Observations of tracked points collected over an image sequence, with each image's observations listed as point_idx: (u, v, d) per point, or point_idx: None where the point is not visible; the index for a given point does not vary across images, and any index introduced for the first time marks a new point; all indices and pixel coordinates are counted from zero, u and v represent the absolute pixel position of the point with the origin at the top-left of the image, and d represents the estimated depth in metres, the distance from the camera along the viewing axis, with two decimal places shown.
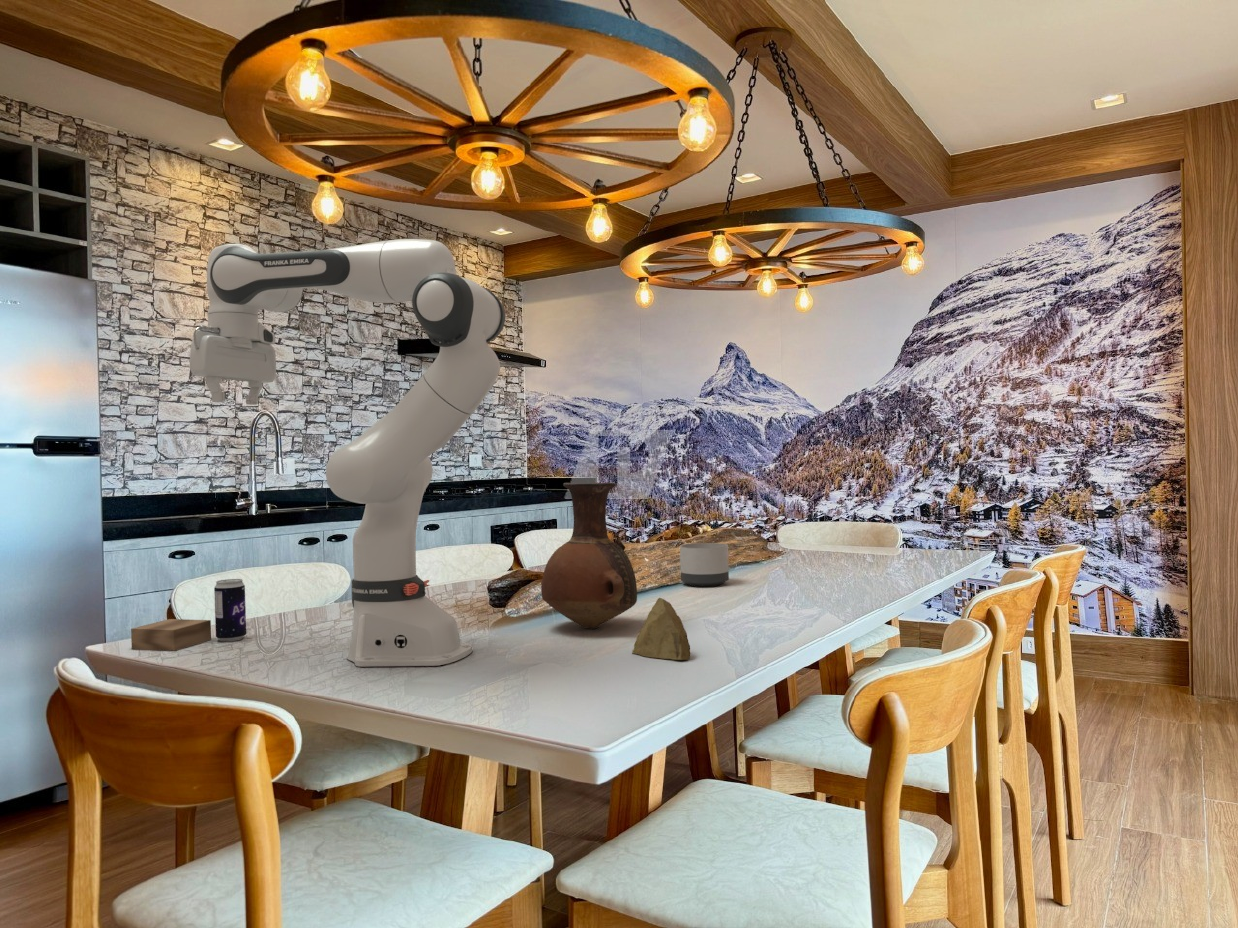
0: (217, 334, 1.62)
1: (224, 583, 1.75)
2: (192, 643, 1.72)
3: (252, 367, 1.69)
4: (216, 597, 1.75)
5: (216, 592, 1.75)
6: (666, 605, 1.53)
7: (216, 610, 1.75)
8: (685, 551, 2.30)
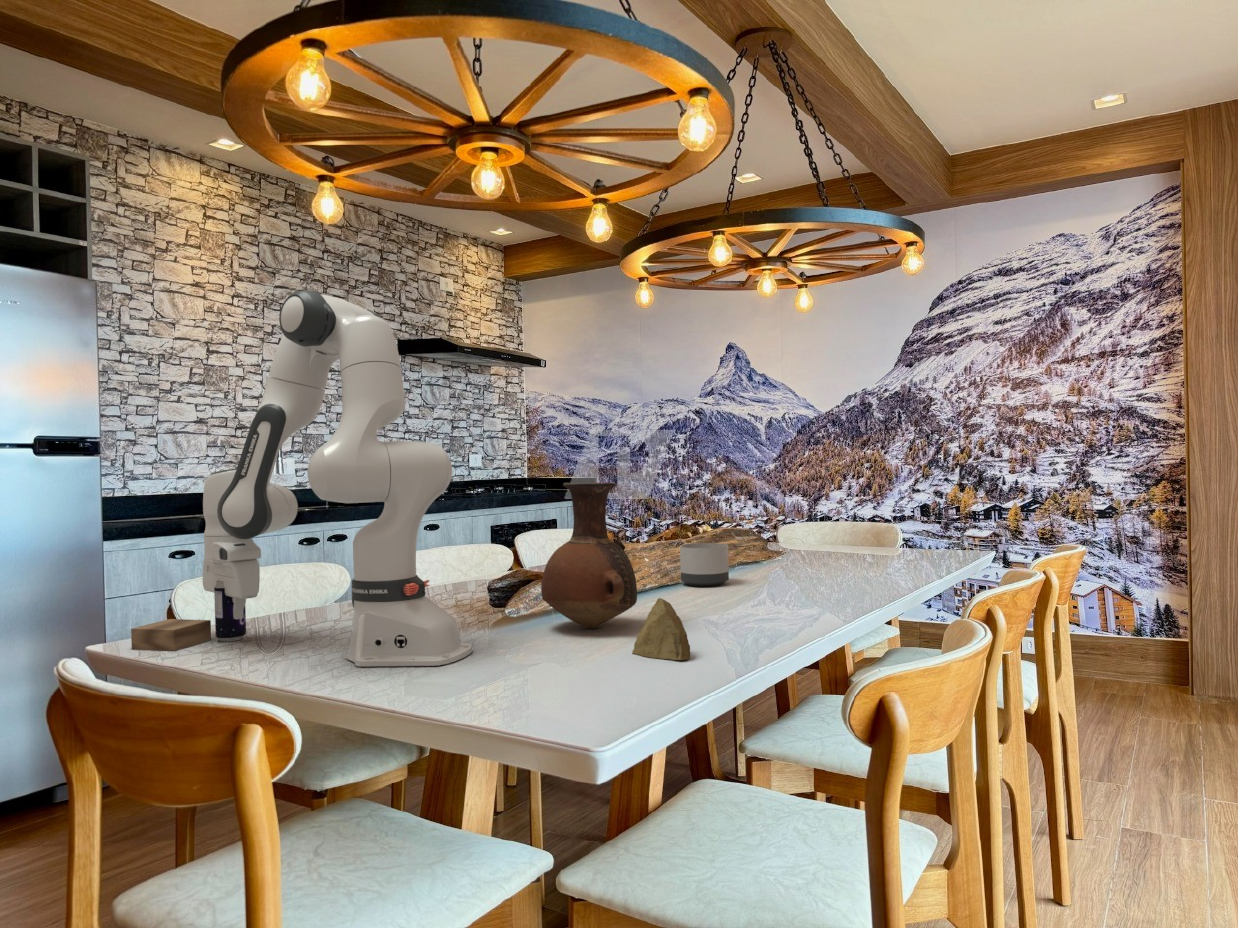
0: None
1: None
2: (192, 643, 1.72)
3: (225, 584, 1.74)
4: (216, 597, 1.75)
5: (216, 592, 1.75)
6: (666, 605, 1.53)
7: (216, 610, 1.75)
8: (685, 551, 2.30)
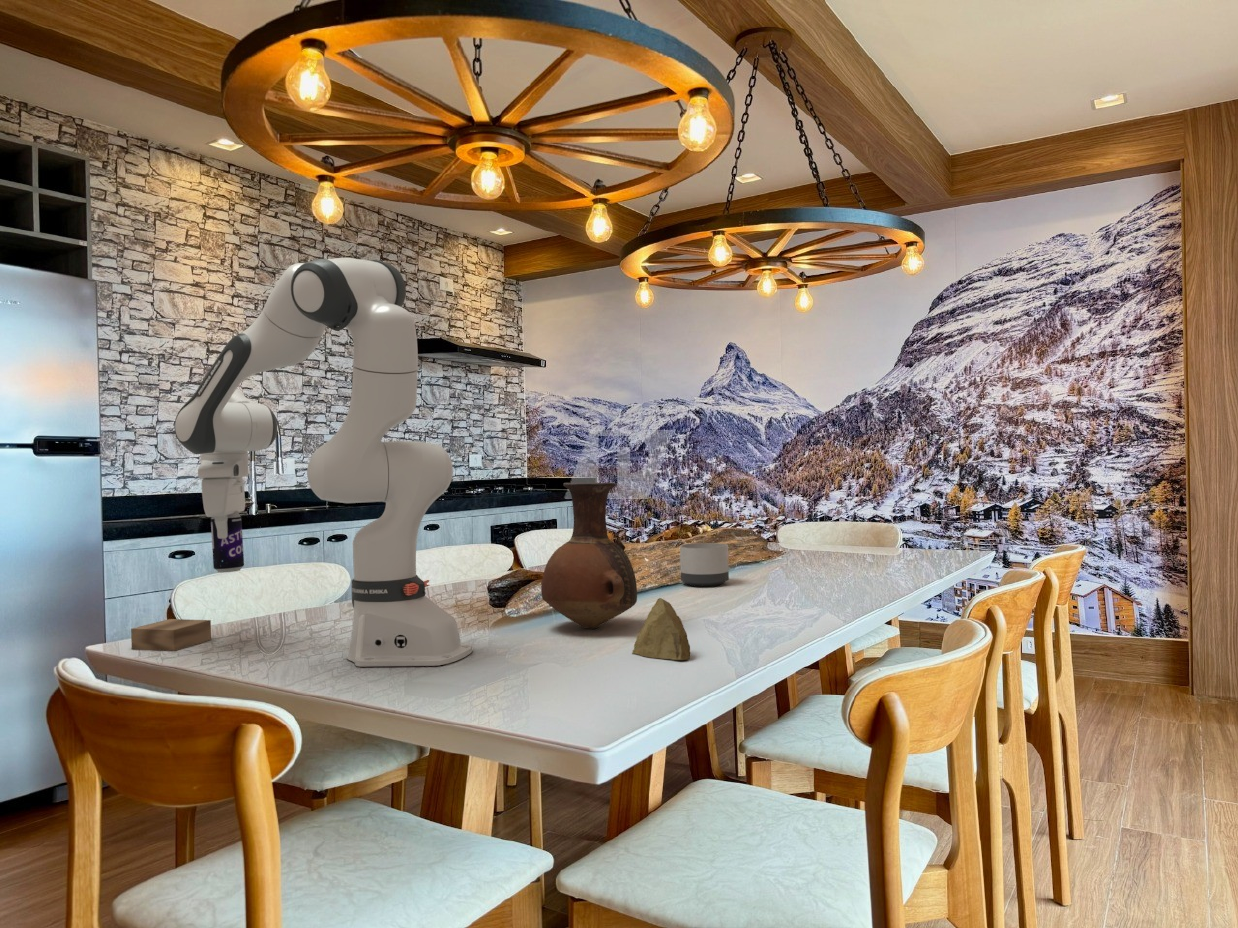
0: None
1: None
2: (192, 643, 1.72)
3: None
4: (211, 527, 1.76)
5: (211, 523, 1.76)
6: (666, 605, 1.53)
7: None
8: (685, 551, 2.30)
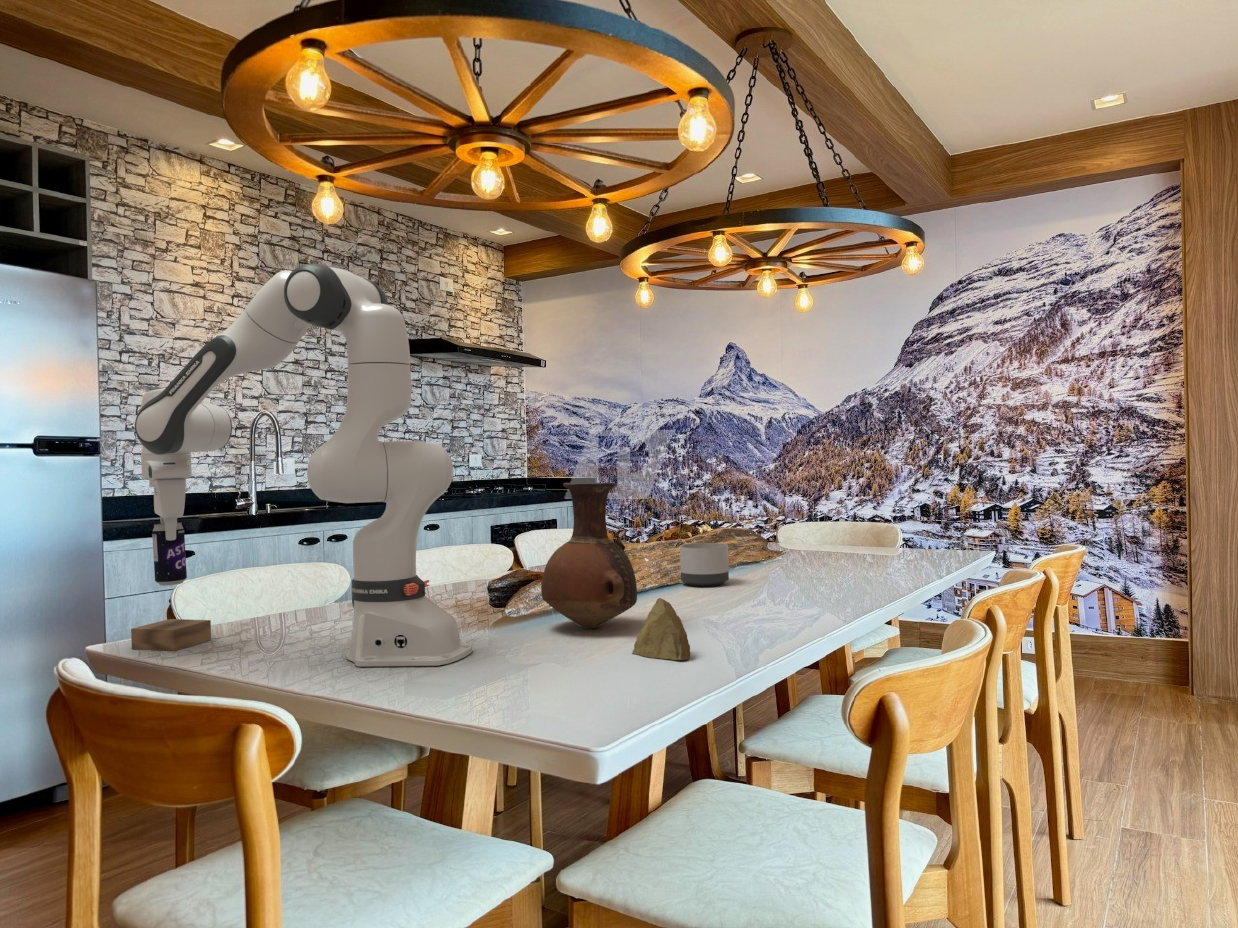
0: None
1: (159, 526, 1.71)
2: (192, 643, 1.72)
3: None
4: None
5: (152, 535, 1.72)
6: (666, 605, 1.53)
7: (153, 554, 1.72)
8: (685, 551, 2.30)
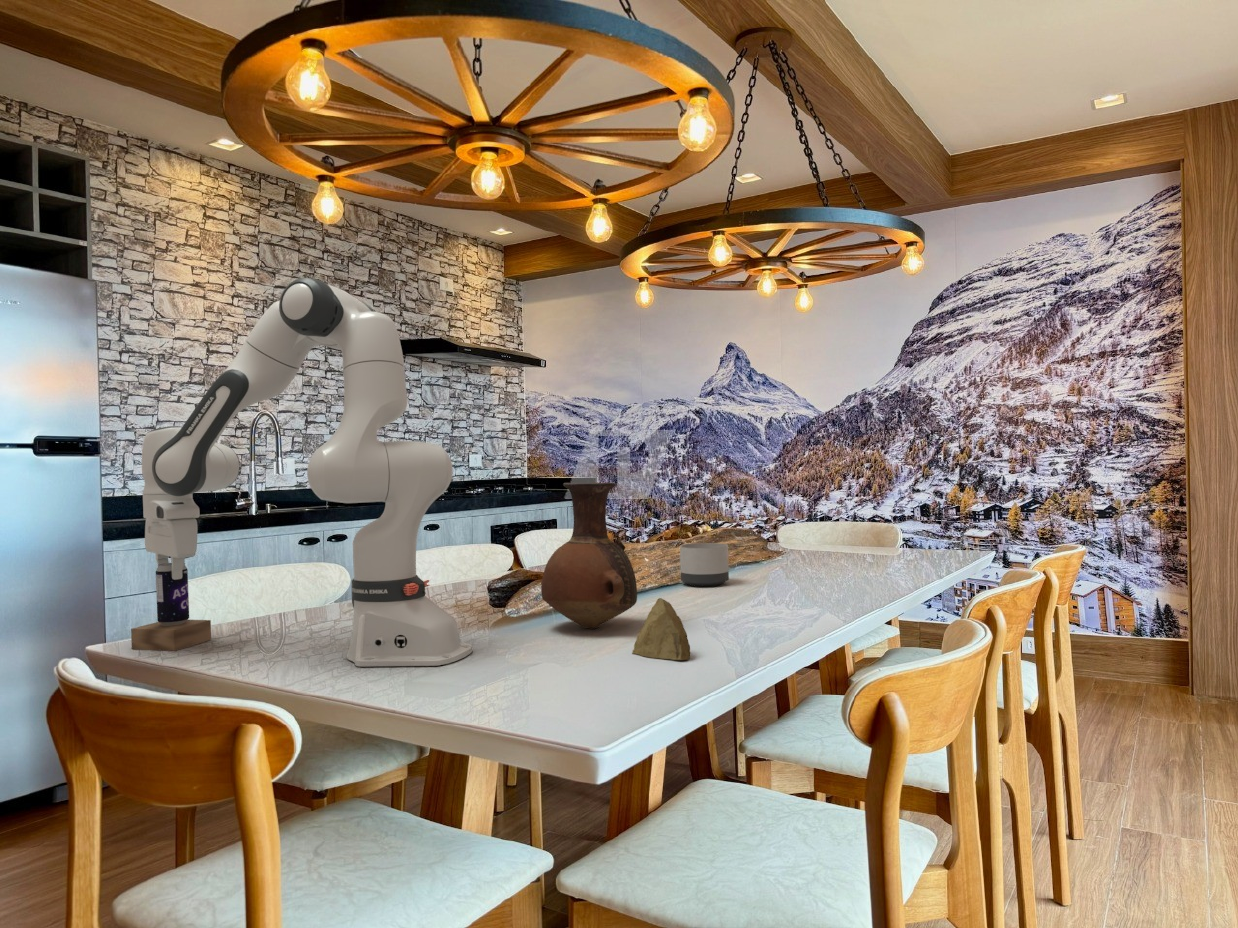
0: None
1: (164, 566, 1.72)
2: (192, 643, 1.72)
3: (164, 544, 1.71)
4: (156, 580, 1.72)
5: (157, 575, 1.72)
6: (666, 605, 1.53)
7: (157, 594, 1.72)
8: (685, 551, 2.30)
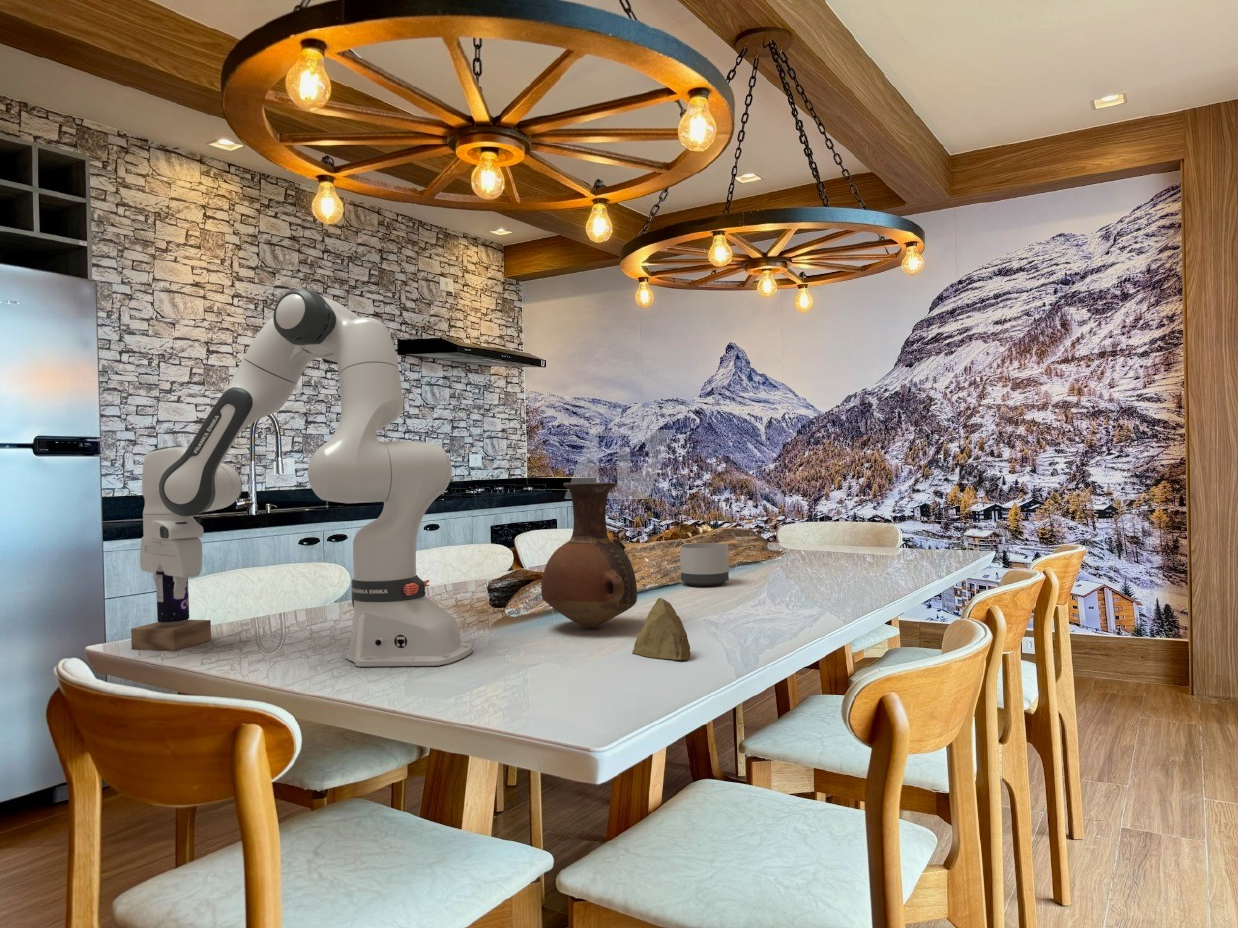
0: None
1: None
2: (192, 643, 1.72)
3: (166, 563, 1.71)
4: (157, 580, 1.72)
5: (157, 575, 1.72)
6: (666, 605, 1.53)
7: (157, 594, 1.72)
8: (685, 551, 2.30)
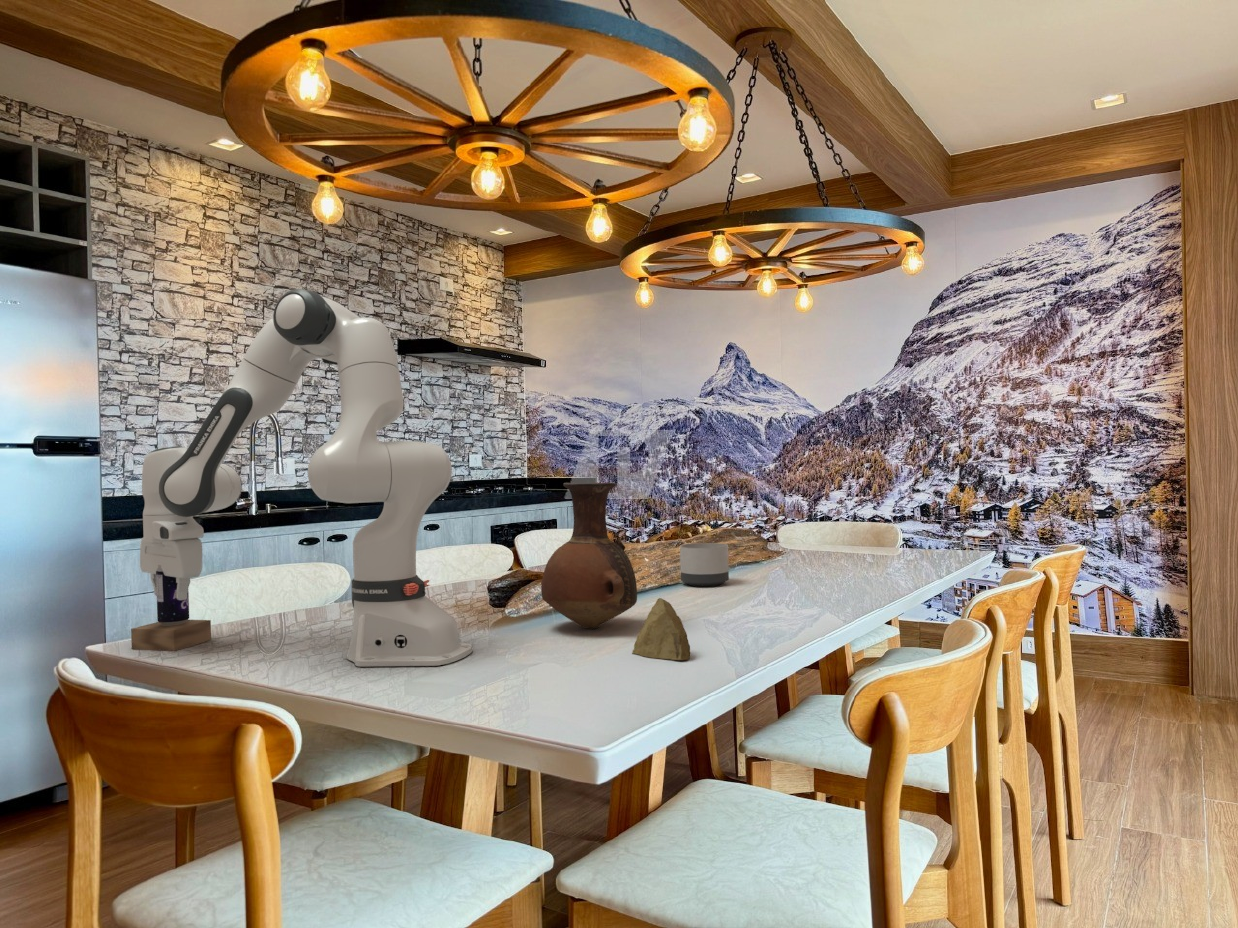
0: None
1: None
2: (192, 643, 1.72)
3: (166, 564, 1.71)
4: (157, 580, 1.72)
5: (157, 575, 1.72)
6: (666, 605, 1.53)
7: (157, 594, 1.72)
8: (685, 551, 2.30)
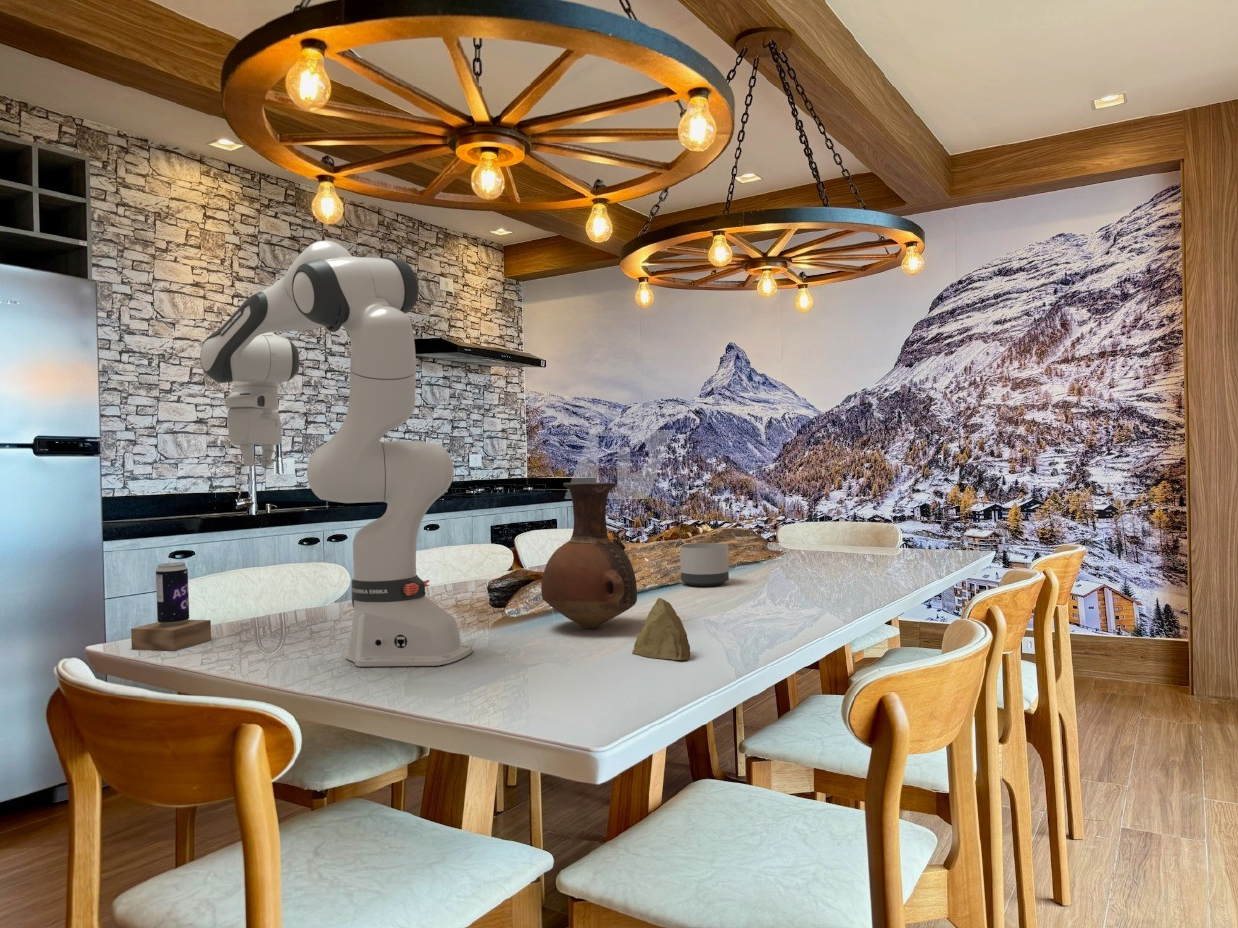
0: None
1: (165, 566, 1.72)
2: (192, 643, 1.72)
3: None
4: (157, 580, 1.72)
5: (157, 575, 1.72)
6: (666, 605, 1.53)
7: (157, 594, 1.72)
8: (685, 551, 2.30)
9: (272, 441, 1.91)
